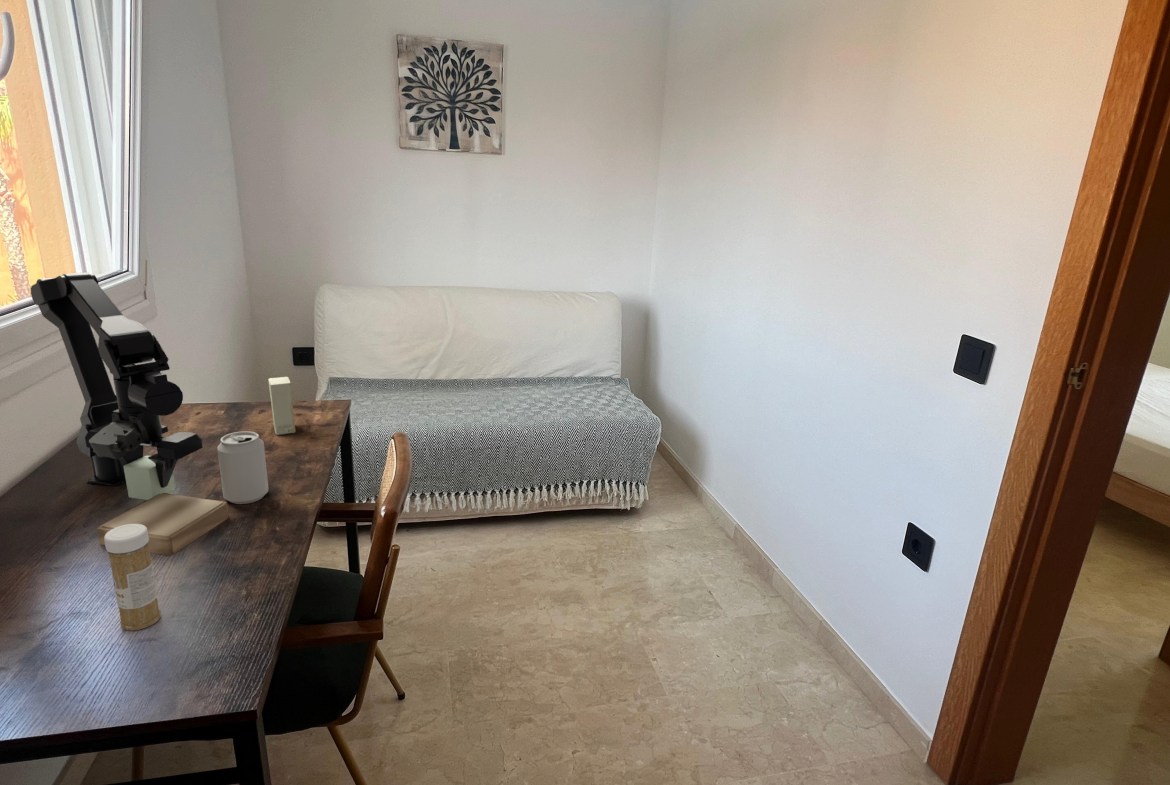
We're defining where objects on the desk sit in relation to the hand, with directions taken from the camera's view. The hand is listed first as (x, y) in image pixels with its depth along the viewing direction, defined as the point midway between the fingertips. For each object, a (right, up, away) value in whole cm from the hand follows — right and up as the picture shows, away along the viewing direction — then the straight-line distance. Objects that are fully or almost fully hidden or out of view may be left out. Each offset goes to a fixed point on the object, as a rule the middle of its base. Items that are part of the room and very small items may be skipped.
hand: (151, 485), depth 118 cm
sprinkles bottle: (+19, -14, -30) cm, 38 cm away
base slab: (+8, -6, -8) cm, 13 cm away
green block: (0, -1, +1) cm, 2 cm away
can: (+15, -3, +4) cm, 16 cm away
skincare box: (+7, +8, +37) cm, 38 cm away
